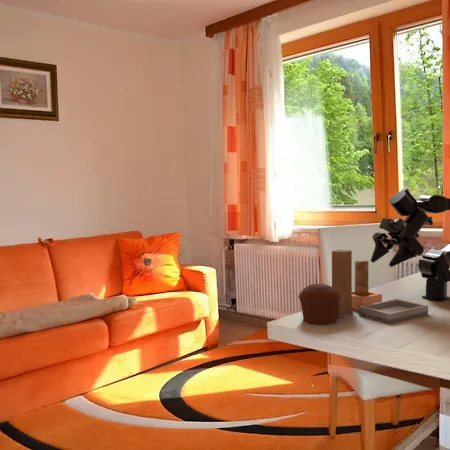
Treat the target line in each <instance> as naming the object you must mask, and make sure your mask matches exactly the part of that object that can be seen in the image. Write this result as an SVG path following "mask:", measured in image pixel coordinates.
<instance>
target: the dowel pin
mask: <svg viewBox="0 0 450 450" xmlns="http://www.w3.org/2000/svg"><path fill="white" fill-rule="evenodd" d="M354 291H355V295H357V296H361V297H363V296H368V291H369V260H366V259H356V260H354Z"/></svg>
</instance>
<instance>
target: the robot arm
mask: <svg viewBox="0 0 450 450" xmlns="http://www.w3.org/2000/svg"><path fill="white" fill-rule="evenodd" d="M388 203H389V205H390V206H391V207H392V208H393V209H394V210H395V212H397V214H398V215H399V216H401V217H404V216H405V218H404V219H403V218H398V217H396V218H394V219H392V218H389V217H382V218H381V221H380V224H379V229H382V230H384V231H386V232H387V234H386V233H385V232H375V233H374V234H373V235H372V237H371V238H372V239H373V242H374V245H375V246H374V249H373V251H372V255H371V258H370V262H371V263H375V262H377V261H379V260H380V259H381V258H382V257H384V256H385V255H386V254H388V253H390V250H392V248H394V247H395V246H396V247H397V248H398V249H397V251H396V253H395V254H394V255H393V257H392V259H391V260H390V262H389V263H388V266H389V267H390V268H392V267H394V266H397V265H399V264H401V263H403V262H405V261H408V260H410V259H412V258H417V257H420V258H419V259H418V264H417V267H418V271H419V272H420V275H421V278H424V279H426V281H425V282H426V283H425V295H422V296H421V298H423V299H428V300H433V301H437V302H440V301H446V300H450V296H448V282H450V243H449V244H447V245H446V246H445V247H444V248H442V249H438V250H437V249H434V248H433V249H432V248H430V249H428V251H427V252H425V249H424V247H425V246H424V245H422V243H421V242H420V240H418V238H419V237H420V234H419V232H420V231H421V230H422V229H423V227H424V226H433V225H434V222H433V216H428V214H439V213H444V212H447V211H450V198H449V197H446V196H443V195H438V194H421V195H419V196H418V198H415V197H414V196H413V195H412V193H411V192H410V190H409V189H408V188H402V189H401V190H400V191H399V192H396V193H394V194H393V195H391V197H390V198H389V200H388ZM423 253H424V254H423Z"/></svg>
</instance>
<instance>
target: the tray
mask: <svg viewBox="0 0 450 450" xmlns="http://www.w3.org/2000/svg"><path fill="white" fill-rule="evenodd" d="M427 315H429V305H428V304H426V305H425V304H423V303H418V302H412V301H408V300H405V299H399V298H393V299H389V300H382V302H378V303H373V304H368V305H363V306H359V310H358V316H362V317H366V318H368V319H372V320H376V321H380V322H383V323H386V324H393V323H397V322H402V321H405V320H409V319H414V318H418V317H419V318H420V317H423V316H427Z"/></svg>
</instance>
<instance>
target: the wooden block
mask: <svg viewBox="0 0 450 450" xmlns="http://www.w3.org/2000/svg"><path fill="white" fill-rule="evenodd" d="M352 253H353V252H352V250H351V249H350V250H349V249H335V250H332V252H331V287H332V288H334V289H335V290H336V291H337V292H338V293H339V295H340V297H341V299H340V300H339V304H338V311H337V317H336V318H340V317H341V316H344V315H346V314H347V313H349V312H352V291H353V290H352V289H353V288H352V286H353V285H352V283H353V282H352V280H353V275H352V273H353V272H352V271H353V269H352V267H353V266H352V265H353V262H352V259H353V258H352V257H353V255H352Z"/></svg>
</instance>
